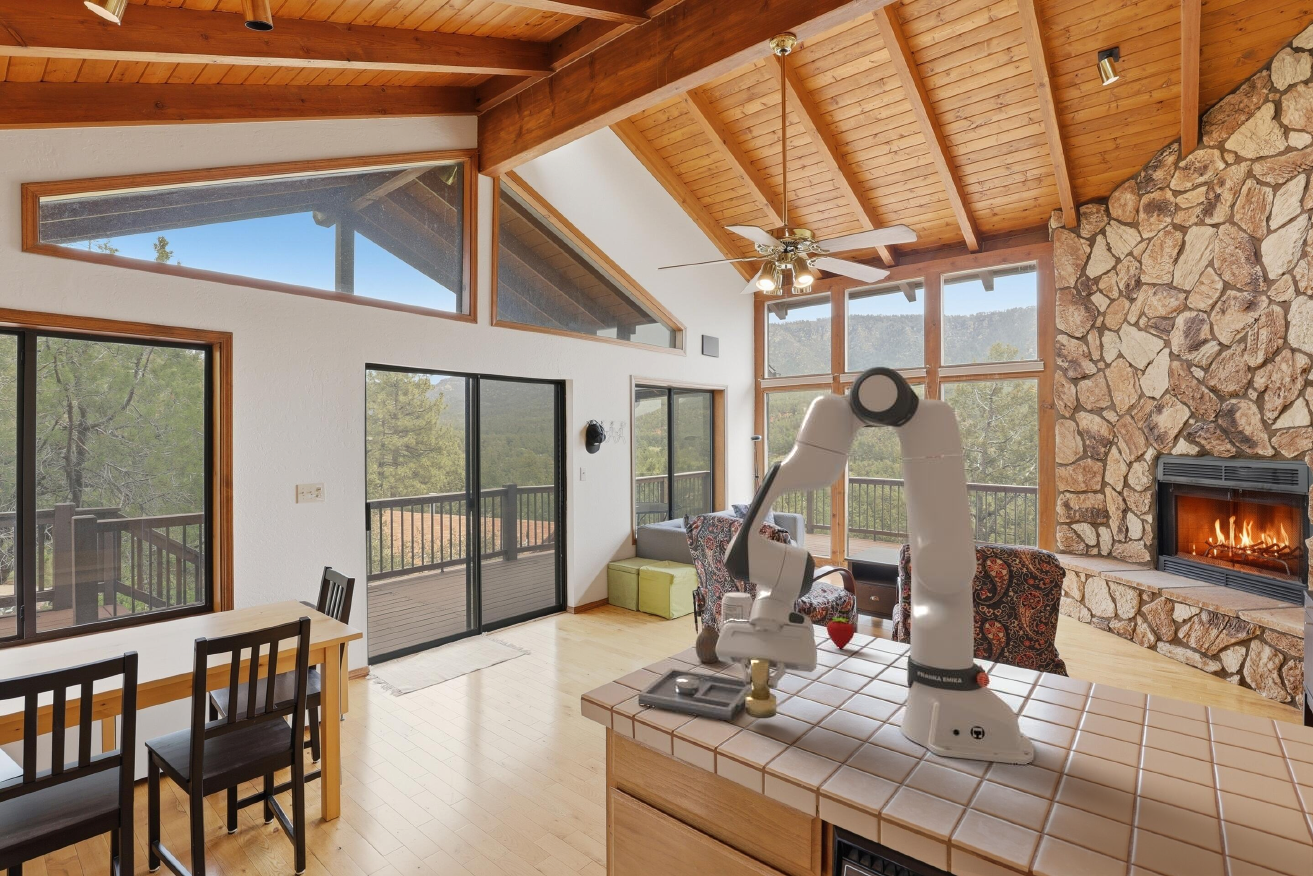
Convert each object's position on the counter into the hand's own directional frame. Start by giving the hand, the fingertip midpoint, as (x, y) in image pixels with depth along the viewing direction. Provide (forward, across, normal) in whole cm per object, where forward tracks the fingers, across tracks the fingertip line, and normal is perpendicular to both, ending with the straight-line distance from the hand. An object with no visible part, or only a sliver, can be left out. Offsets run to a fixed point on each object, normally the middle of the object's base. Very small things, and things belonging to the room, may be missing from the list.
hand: (759, 685), depth 128 cm
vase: (-18, -22, +29) cm, 41 cm away
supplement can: (-26, -18, +37) cm, 49 cm away
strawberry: (-36, +7, +47) cm, 60 cm away
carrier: (-1, -16, +11) cm, 20 cm away
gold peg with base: (+3, 0, +4) cm, 5 cm away
